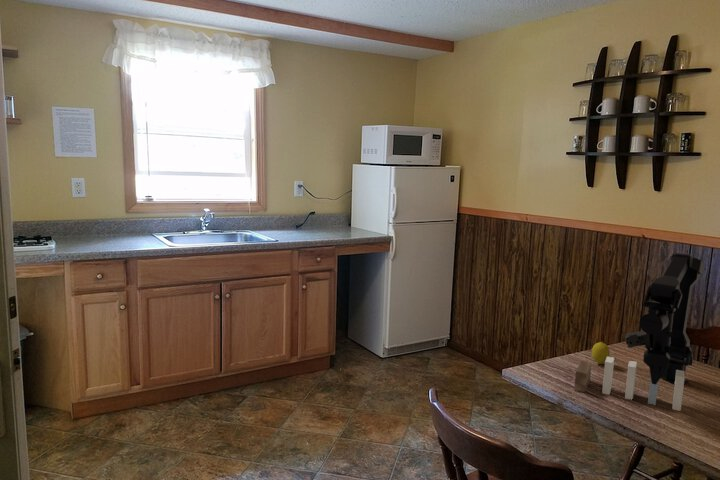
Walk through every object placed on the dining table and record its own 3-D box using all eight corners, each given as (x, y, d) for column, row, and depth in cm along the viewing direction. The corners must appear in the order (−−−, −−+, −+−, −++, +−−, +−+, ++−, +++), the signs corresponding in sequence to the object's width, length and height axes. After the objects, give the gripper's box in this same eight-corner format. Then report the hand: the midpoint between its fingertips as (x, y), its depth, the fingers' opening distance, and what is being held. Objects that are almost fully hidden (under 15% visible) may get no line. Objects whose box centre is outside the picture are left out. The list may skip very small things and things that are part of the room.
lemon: (611, 367, 174) (613, 344, 172) (594, 367, 174) (596, 344, 173) (603, 361, 179) (605, 339, 178) (588, 361, 179) (589, 339, 178)
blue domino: (656, 398, 151) (659, 366, 149) (655, 405, 147) (659, 372, 145) (648, 396, 152) (651, 364, 150) (647, 403, 148) (651, 370, 146)
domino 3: (680, 404, 148) (684, 371, 146) (680, 411, 143) (684, 377, 142) (672, 402, 149) (676, 369, 147) (672, 409, 144) (676, 375, 143)
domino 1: (611, 388, 157) (614, 357, 156) (609, 394, 153) (612, 363, 151) (604, 387, 158) (607, 356, 157) (602, 393, 154) (605, 361, 152)
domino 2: (633, 393, 154) (636, 362, 152) (632, 400, 150) (635, 367, 148) (626, 392, 155) (629, 360, 153) (624, 398, 151) (627, 366, 149)
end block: (589, 380, 162) (591, 362, 162) (584, 392, 154) (586, 373, 153) (579, 378, 164) (581, 360, 163) (574, 390, 156) (575, 371, 155)
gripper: (631, 313, 158) (626, 361, 160) (625, 329, 142) (620, 383, 145) (673, 319, 152) (667, 369, 154) (672, 337, 136) (666, 392, 139)
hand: (654, 378), depth 148 cm, fingers open, 9 cm apart
